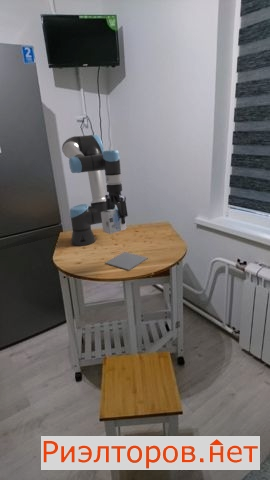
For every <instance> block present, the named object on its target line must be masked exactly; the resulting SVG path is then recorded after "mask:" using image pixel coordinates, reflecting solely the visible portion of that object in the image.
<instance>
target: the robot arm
mask: <svg viewBox="0 0 270 480" xmlns="http://www.w3.org/2000/svg"><path fill="white" fill-rule="evenodd" d="M61 150H62V153H63V155H64V156H65V157H66V158H68V164H69V170H70V172H71V173H72V174H80V173H87V175H88V181H89V187H90V192H91V199H92V200H91V202H90V205H88V204H86V203H83V204H78V205H75V206H72V207H71V208H70V209H69V217H70V221H71V224H70V225H71V230H72V233H71V240H70V242H71V245H72V246H76V247H77V246H78V247H82V246H83V247H84V246H88V245H89V246H90V245H92V244H94V243H95V242H96V237H95V234H94V233H93V230H92V226H93V225H98V224H102V218H101V212H103V211H107V210H111V209H115V208H118V211H119V215H120V217H119V222H120V231H119V232H121V231H122V232H123V231H126V229H125V217H126V218H127V217H128V216H129V215H128V210H127V202H126V201H127V198H126V196H122V191H123V184H122V173H121V162H120V161H121V159H120V152H119V150H118V149H110V150H104V144H103V141H102V139H101V137H100V136H99V135H98V134H97V135H96V134H90V135H80V136H77V135H76V136H75V135H74V136H71V137H69V138H67V139H66V140H65V141H64V142H63V144H62V146H61ZM102 171H104V174H105V183H106V185H105V183H104V177H103V172H102ZM105 186H106V187H105ZM105 188H106V191H105ZM106 192H107V193H108V194H106ZM91 225H92V226H91Z"/></svg>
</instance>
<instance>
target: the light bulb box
mask: <svg viewBox="0 0 270 480" xmlns="http://www.w3.org/2000/svg"><path fill="white" fill-rule="evenodd" d="M119 217H120V215H119V211H118V208H117V207H115V209H111V210H107V211H103V212H101V218H102V223H101V224H102V232H103V233H106V234H108V235H111V234H114V233H115V234H116V233H118V232H121V231H120V222H119ZM127 229H128V227H127V217H125V230H127Z"/></svg>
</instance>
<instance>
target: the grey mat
mask: <svg viewBox="0 0 270 480" xmlns="http://www.w3.org/2000/svg"><path fill="white" fill-rule="evenodd" d="M148 259H149V257H146V256H142V255H138V254H135V253H132V252H131V253H130V252H127V251H124V252H121V253H120V254H118V255H116V256H114V257H113V258H111V259H109V260H107V261H105V262H104V263H105V264H106V265H109V266H113V267H115V268H119V269H123V270H125V271H131V270H133V269H134V268H136V267H137V266H139V265H141V264H142V263H144V262H145V261H146V260H148Z"/></svg>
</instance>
